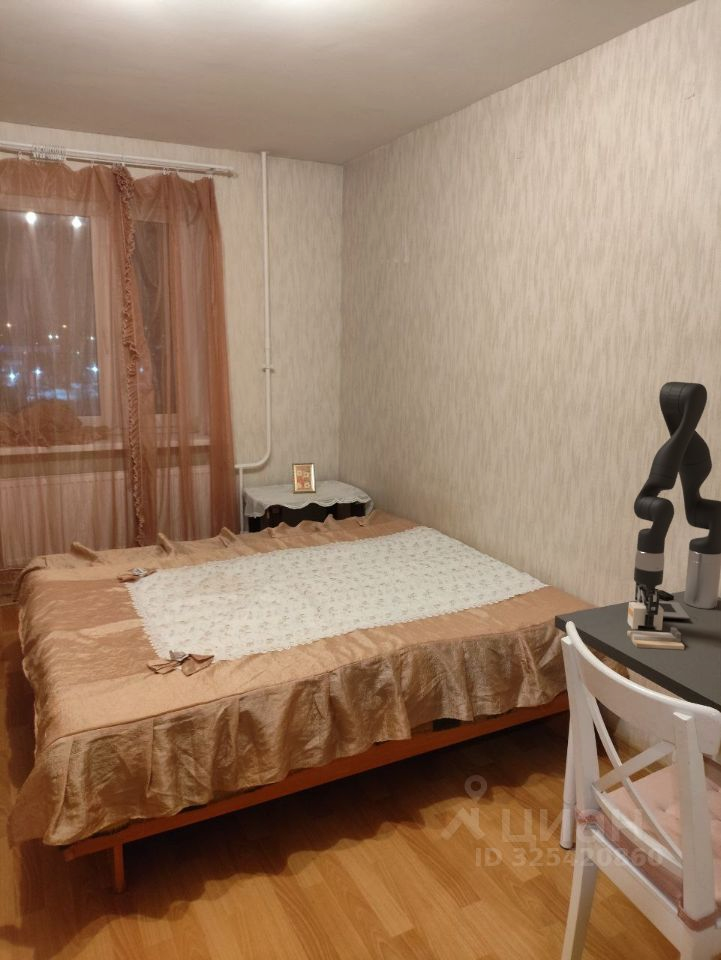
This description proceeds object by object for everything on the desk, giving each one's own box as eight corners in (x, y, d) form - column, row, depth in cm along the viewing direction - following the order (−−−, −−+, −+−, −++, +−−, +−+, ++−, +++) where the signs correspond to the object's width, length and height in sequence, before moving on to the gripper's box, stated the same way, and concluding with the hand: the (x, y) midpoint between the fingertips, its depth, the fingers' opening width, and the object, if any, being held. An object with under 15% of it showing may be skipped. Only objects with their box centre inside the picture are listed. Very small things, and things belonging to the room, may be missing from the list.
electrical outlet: (688, 624, 196) (689, 616, 195) (650, 621, 198) (650, 614, 198) (677, 608, 208) (678, 601, 208) (641, 606, 211) (641, 598, 210)
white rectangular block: (631, 629, 191) (633, 608, 190) (626, 622, 196) (628, 602, 195) (661, 630, 190) (663, 609, 189) (656, 623, 195) (657, 603, 194)
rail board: (627, 634, 188) (628, 622, 187) (672, 636, 186) (673, 624, 186) (636, 647, 179) (637, 635, 178) (684, 649, 178) (685, 637, 177)
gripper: (671, 574, 183) (666, 632, 186) (654, 559, 197) (650, 613, 200) (643, 573, 184) (638, 631, 186) (628, 558, 198) (624, 612, 200)
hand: (644, 621), depth 193 cm, fingers open, 6 cm apart
